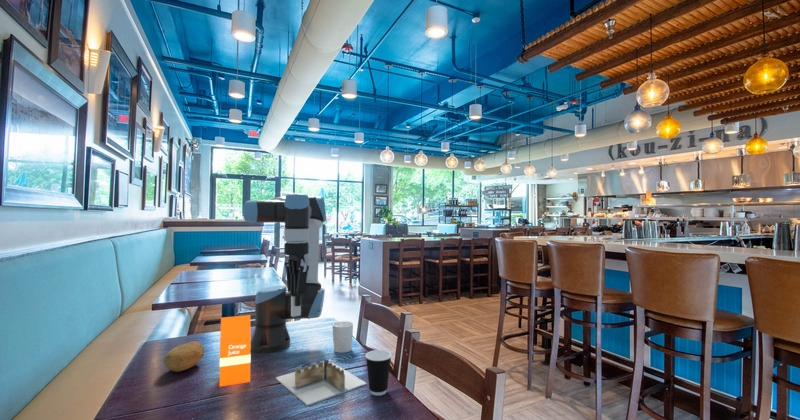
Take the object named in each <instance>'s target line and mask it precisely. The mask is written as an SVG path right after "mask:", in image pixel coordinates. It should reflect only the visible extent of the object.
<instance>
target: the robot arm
mask: <svg viewBox="0 0 800 420" xmlns="http://www.w3.org/2000/svg"><path fill="white" fill-rule="evenodd" d="M326 214H327V213H326V204H325V199H324V197H323V196H322V195H314V194H313V195H308V194H306V193H287V194H286V195H282V196H277V197H276V196H275V197H272V198H271V199H268V200H256V199H253V200H247V201H245V202H244V204H243V207H242V216H243V217H242V218H243V220H244V222H247V223H253V224H256V223H259V224H260V223H282V224H283V223H284V231H283V232H284V233H283V235H284V236H283V237H284V238H283V240H284V242H285V243H284V246H283V247H284V251H283V252H284V253H283V254H284V255H285V256H288V259H287V260H288V261H285V262H284V267H285V274H286V275H285V277H286V285H275V286H269V287H265V288H262V289H260V290H258V291H257V292H256V294H255V302H254V304H255V307H254V309H255V313H254V315H255V318H254V320H255V321H254V323H255V325H254V330H253V333H252V336H251V349H250V351H253V352H255V353H274V352H279V351H282V350H284V349H285V350H286V348H287V349H288V347H289V346H290V345H291V337H290V334H289V330H288V327H287V320H301V319H308V320H310V319H318V318H320V316H321V315H322V312H323V306H324V301H325V293H326V292H325V289H324V288H322V284H321V283H320V282H319V258H320V257H319V254H320V253H319V251H320V248H319V247H320V228H322V226H324V223H325V222H327V215H326Z"/></svg>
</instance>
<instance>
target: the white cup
mask: <svg viewBox="0 0 800 420" xmlns="http://www.w3.org/2000/svg"><path fill="white" fill-rule="evenodd" d="M353 331H354V323H353V322H351V321H347V320H345V321H344V320H343V321H336V322H334V323H332V339H333V351H334V352H335V353H338V354H339V353H340V354H341V353H343V354H344V353H348V352H350V351H352V346H353V345H352V343H353V333H354V332H353Z"/></svg>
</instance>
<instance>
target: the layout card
mask: <svg viewBox="0 0 800 420" xmlns="http://www.w3.org/2000/svg"><path fill="white" fill-rule="evenodd" d="M330 362H331V363H332V365H336V368H337V367H339V368H340V370H342V369H343V370H344V375H345V389H344V390H340V389H338V388H337V387H336V386H334V385H333V384H331V383H330V382H328V381H327V380H326V379H322V380H319V381H316V382H313V383H309V384H306V385H303V386H300V387H296V386H295V373H296V371H292V372H290V373H287V374H283V375H280V376H276V377H275V380H277V381H278V382H279V383H280V384H282V385H283V386H284V387H285V388H286V389H287V390H288V391H289V392H290V393H292V394H293V395H294V396H295V397H296V398H298V400H300V401H301V402H302V403H303V404H304V405H306V406H307V407H309V406H311V405H315V404H317V403H319V402H322V401H325V400H328V399H330V398H333V397H336V396H339V395H341V394H344V393H348V392H350V391H352V390H356V389H358V388H361V387H363V386H367V382H365V381H364V380H362V379H361V378H359V377H357V376H356V375H354V374H352V373H351V372H349V371H347V370H345V369H344V368H342V367H341V366H339V365H338V364H335V363H334V362H332V361H329V363H330ZM317 366H318V365H317V364H316V367H317ZM323 366H324V363H323ZM310 368H311V366H310V367H308V369H310ZM303 370H304V368H303V369H301V371H303Z"/></svg>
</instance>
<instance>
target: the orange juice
mask: <svg viewBox="0 0 800 420" xmlns="http://www.w3.org/2000/svg"><path fill="white" fill-rule="evenodd" d="M251 335H252V334H251V314H248V315H235V316H226V317H225V316H224V317H221V318H220V338H219V387H227V386H231V385H239V384H243V383H244V384H245V383H250V382H251V362H252V361H251V356H252V354H251V339H252V336H251Z"/></svg>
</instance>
